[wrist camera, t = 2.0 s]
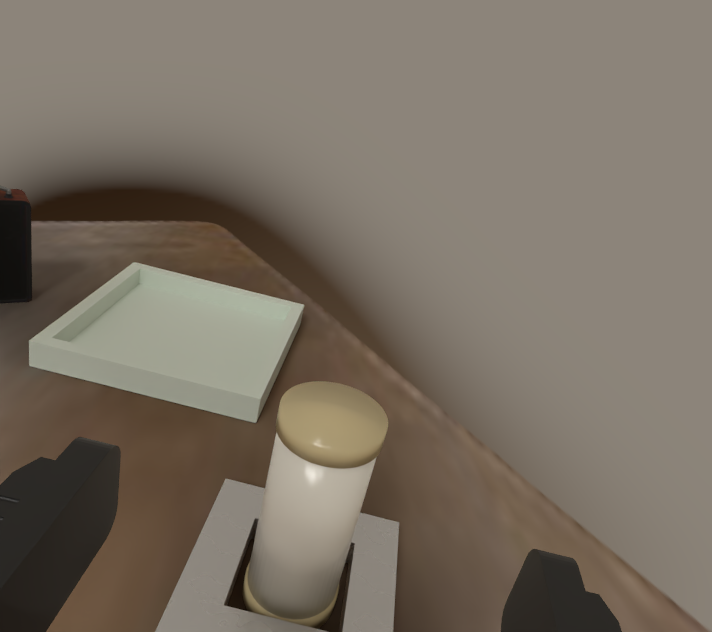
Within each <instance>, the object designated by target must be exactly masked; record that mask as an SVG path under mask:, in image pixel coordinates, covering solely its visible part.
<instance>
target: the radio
mask: <svg viewBox="0 0 712 632" xmlns="http://www.w3.org/2000/svg"><path fill="white" fill-rule="evenodd" d="M31 298H32V264H31V206H30V203H29V201H28V199H27V197H26V195H25V193H24V192H23V191H22V190H18V189H7V188H6V187H2V186H0V303H16V302H29V301H30V300H31Z"/></svg>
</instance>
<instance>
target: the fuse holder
mask: <svg viewBox="0 0 712 632" xmlns="http://www.w3.org/2000/svg"><path fill="white" fill-rule="evenodd" d="M264 491H265V488H261V487H257V486H254V485H250V484H246V483H242V482H238V481H234V480H230V479H225V481H224V483H223V486H222V488H221V490H220V492H219V494H218V496H217V499H216V501H215V503H214V505H213V507H212V509H211V512H210V514H209V516H208V518H207V520H206V522H205V525H204V527H203V529H202V531H201V533H200V535H199V538H198V540H197V542H196V544H195V546H194V548H193V551H192V553H191V555H190V557H189V559H188V561H187V564H186V566H185V568H184V570H183V572H182V575H181V577H180V579H179V581H178V583H177V585H176V588H175V590H174V592H173V594H172V596H171V598H170V601H169V603H168V605H167V607H166V609H165V611H164V614H163V616H162V618H161V620H160V622H159V624H158V627H157V629H156V631H155V632H327V631H323V630H319V629H315V628H312V627H308V626H304V625H300V624H296V623H292V622H288V621H284V620H280V619H276V618H272V617H268V616H264V615H260V614H256V613H252V612H248V611H244V610H241V609H237V608H233V607H229V606H227V605H228V602H229V599H230V596H231V593H232V590H233V588H234V585H235V582H236V579H237V576H238V573H239V571H240V568H241V565H242V562H243V559H244V556H245V554H246V551H247V548H248V545H249V542H250V540H251V539H254V540H255V535H256V530H257V525H258V520H259V516H260V511H261V506H262V501H263V496H264ZM398 535H399V522H396V521H392V520H388V519H384V518H380V517H376V516H372V515H368V514H364V513H360V514H359V518H358V521H357V524H356V528H355V531H354V534H353V538H352V541H351V544H350V548H349V551H348V554H347V558H346V561H345V563H349V565H348V571H347V578H346V585H345V592H344V598H343V605H342V612H341V619H340V625H339V632H393V625H394V607H395V589H396V571H397V553H398Z"/></svg>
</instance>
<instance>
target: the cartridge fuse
mask: <svg viewBox="0 0 712 632" xmlns="http://www.w3.org/2000/svg"><path fill="white" fill-rule="evenodd" d="M387 429H388V419H387V416H386V413H385V411H384V410H383V408H382V407H381V406H380V405H379V404H378V403H377V402H376V401H375V400H374V399H373V398H371V397H370V396H368V395H367V394H365V393H363V392H361V391H359V390H357V389H355V388H352V387H350V386H347V385H343V384H339V383H334V382H325V381H314V382H306V383H302V384H298V385H296V386H294V387H292V388H290V389H289V390H288V391H286V392H285V394H284V395H283V396H282V398H281V401H280V405H279V410H278V415H277V420H276V431H277V432H276V437H275V442H274V447H273V452H272V457H271V462H270V467H269V471H268V476H267V481H266V486H265V491H264V496H263V501H262V506H261V511H260V516H259V520H258V525H257V530H256V535H255V540H254V545H253V550H252V555H251V560H250V562H249V564H248V566H247V570H246V574H245V579H244V584H243V591H242V594H243V601H244V605H245V607H246V609H247V611H248V612H252V613H256V614H260V615H264V616H268V617H272V618H276V619H280V620H284V621H288V622H292V623H296V624H300V625H304V626H308V627H312V628H315V629H318V628H320V627H321V626H322V625H323V624H325V622H326V621H327V620H328V619H329V617H330V616H331V614H332V611H333V609H334V605H335V602H336V599H337V595H338V591H339V581H340V578H341V575H342V571H343V568H344V565H345V561H346V558H347V554H348V551H349V548H350V544H351V541H352V538H353V534H354V531H355V528H356V524H357V521H358V518H359V514H360V511H361V508H362V504H363V501H364V498H365V494H366V491H367V488H368V484H369V481H370V478H371V474H372V471H373V467H374V464H375V461H376V457H377V456H378V454H379V453H380V451H381V449H382V446H383V442H384V439H385V436H386V432H387Z"/></svg>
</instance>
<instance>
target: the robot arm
mask: <svg viewBox="0 0 712 632" xmlns="http://www.w3.org/2000/svg"><path fill="white" fill-rule="evenodd" d="M119 472H120V448H119V447H118V446H115V445H111V444H107V443H103V442H99V441H95V440H91V439H87V438H82V437H78V438H76V439H75V440H74V441H73V442H72V443H71V444H70V445H69V446H68V447H67V448H66V449H65V450H64V451H63V453H62V454H61V455H60V456H59V457H58V458H57V459H56V460H51V459H47V458H43V457H40V458H38V459H37V460H35V461H33V462H31V463H29V464H27V465H25V466H24V467H22V468H20V469H18V470H16V471H14V472H13V473H12V474H11V475H10V476H9V477H8V478H7V479H6V480H5V481H4V482H3V483H2V484H1V485H0V632H46V631H47V629H48V628H49V626H50V624H51V623H52V621H53V620H54V618H55V617H56V615H57V614H58V612H59V611H60V609H61V608H62V606H63V605H64V603H65V601H66V600H67V598H68V597H69V595H70V594H71V592H72V591H73V589H74V588H75V586H76V585H77V583H78V581H79V580H80V578H81V577H82V575H83V574H84V572H85V571H86V569H87V568H88V566H89V565H90V563H91V562H92V560H93V558H94V557H95V555H96V554H97V552H98V551H99V549H100V548H101V546H102V545H103V543H104V542H105V540H106V538H107V536H108V534H109V532H110V530H111V528H112V525H113V522H114V519H115V516H116V511H117V504H118V488H119ZM501 632H622V631H621V628H620V625H619V622H618V621H617V619H616V618H615V616H614V615H613V614H612V612H611V611H610V609H609V608H608V607H607V605H606V604H605V602H604V601H603V600H602V598H601V597H600V595H599V594H595V593H591V592H586V591H585V588H584V585H583V581H582V578H581V575H580V571H579V568H578V565H577V563H576V561H575V560H574V559H573V558H570V557H565V556H561V555H557V554H553V553H549V552H545V551H541V550H537V549H533V550H531V551H530V552H529V554H528V556H527V558H526V560H525V562H524V564H523V566H522V568H521V571H520V573H519V575H518V577H517V579H516V582H515V584H514V586H513V588H512V590H511V593H510V595H509V597H508V599H507V601H506V604H505V607H504V611H503V616H502V623H501Z"/></svg>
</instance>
